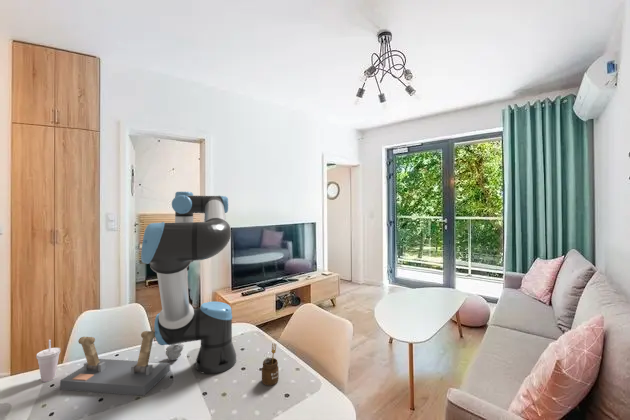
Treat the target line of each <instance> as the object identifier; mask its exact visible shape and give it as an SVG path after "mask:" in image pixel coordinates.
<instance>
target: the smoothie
mask: <svg viewBox="0 0 630 420" xmlns="http://www.w3.org/2000/svg"><path fill="white" fill-rule="evenodd" d="M51 342H52V340H51V339H48V348H46V349H43V350H40V351H39V352H37V353H36V356H35V357H36V358H35V359H37V362H38V368H39V374H40V379H41V382H42V383H46V382H50V381H52V380H54V379H55V378H56V377H57V376H56V375H57V370H58V365H59V358H60V353H61V347H52V343H51Z"/></svg>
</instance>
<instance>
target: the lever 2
mask: <svg viewBox="0 0 630 420" xmlns="http://www.w3.org/2000/svg"><path fill="white" fill-rule="evenodd" d="M140 336H141V338H142V339H141V344H140V345H141V346H140V349H139V355H138V360H137V361H138V363H137V365H136V366H135V368H134V372H140V373H146V367H148V366H149V365H148V362H150V357H151V351H152V346H153V342H154V339H156V338H155V330H150V331H149V330H144V331H142V332H141V334H140Z"/></svg>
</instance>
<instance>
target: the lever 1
mask: <svg viewBox="0 0 630 420" xmlns="http://www.w3.org/2000/svg"><path fill="white" fill-rule="evenodd" d="M95 342H96V338H95V337H93V336H81V337H79V339H78V342H77V343H78V344H80V345H81V346H82V350H83V352H84V356H85V359H86V362H87V363H88V364H87V369H93V370H98V365H99V364H100V363H102V362H100V361H99V359H100V358H99V356H98V353H97V349H96V346H95Z"/></svg>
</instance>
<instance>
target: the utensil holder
mask: <svg viewBox="0 0 630 420" xmlns="http://www.w3.org/2000/svg"><path fill="white" fill-rule="evenodd" d="M276 349H277V343H274V342H272V345H271V353H272V355H271V353H265V354H264V356H263V357H266V356H269V357H268V358H267V357H266V358H264V360H263V361H262V368H261V382H262V384H263V385H265V386H274V385H276V384H277V383H278V382H279V379H280V378H279V376H280V374H279V373H280V372H279V371H280V370H279V365H278V363H279V362H278V359H276V358H275V356H274V354H275V353H276V352H277V350H276Z"/></svg>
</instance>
